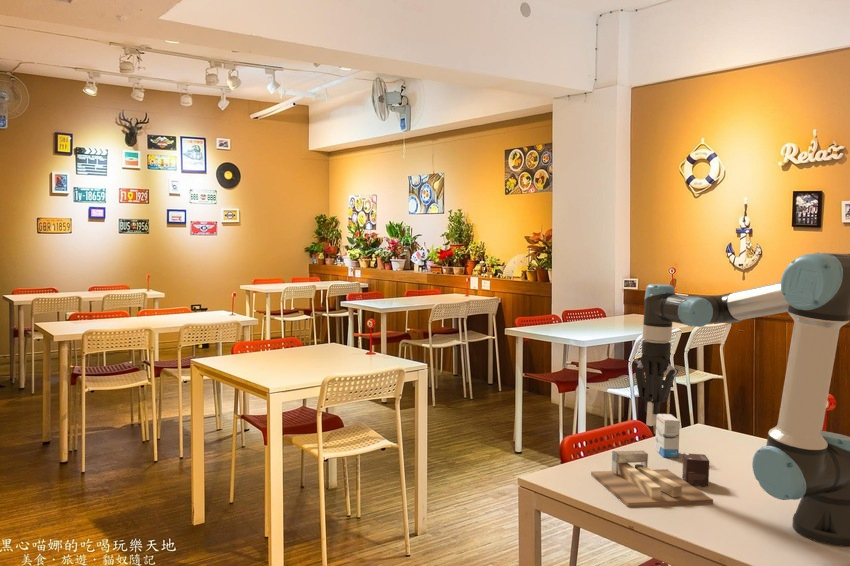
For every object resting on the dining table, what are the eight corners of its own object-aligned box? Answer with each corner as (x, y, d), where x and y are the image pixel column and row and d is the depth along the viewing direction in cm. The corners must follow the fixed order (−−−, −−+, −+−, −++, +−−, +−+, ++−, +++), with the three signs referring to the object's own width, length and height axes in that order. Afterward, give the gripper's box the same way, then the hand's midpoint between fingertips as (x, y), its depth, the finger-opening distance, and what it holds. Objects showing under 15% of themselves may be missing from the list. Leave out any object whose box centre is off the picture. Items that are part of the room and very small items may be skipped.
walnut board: (713, 503, 180) (713, 499, 180) (627, 506, 176) (627, 502, 176) (667, 472, 204) (667, 469, 204) (591, 475, 200) (591, 471, 200)
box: (708, 487, 192) (709, 460, 192) (685, 485, 193) (686, 459, 193) (704, 480, 198) (705, 454, 198) (681, 478, 199) (682, 452, 199)
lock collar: (647, 473, 198) (647, 453, 198) (616, 474, 197) (616, 454, 197) (642, 470, 201) (643, 450, 201) (611, 471, 200) (612, 451, 200)
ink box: (678, 458, 218) (680, 420, 217) (663, 457, 218) (664, 420, 217) (669, 449, 227) (671, 413, 226) (654, 449, 227) (655, 413, 226)
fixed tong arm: (660, 498, 180) (661, 487, 180) (651, 499, 179) (651, 487, 179) (624, 471, 201) (624, 460, 201) (616, 471, 201) (616, 461, 200)
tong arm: (632, 474, 198) (633, 464, 198) (640, 473, 198) (640, 464, 198) (673, 497, 180) (673, 486, 180) (681, 496, 181) (681, 485, 181)
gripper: (685, 343, 191) (680, 428, 193) (643, 336, 201) (637, 417, 203) (671, 345, 186) (665, 432, 188) (628, 338, 196) (623, 421, 198)
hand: (651, 424), depth 196 cm, fingers closed
